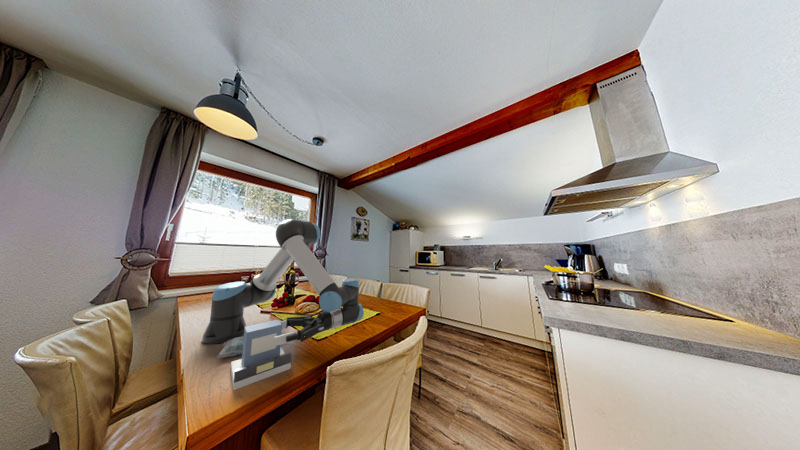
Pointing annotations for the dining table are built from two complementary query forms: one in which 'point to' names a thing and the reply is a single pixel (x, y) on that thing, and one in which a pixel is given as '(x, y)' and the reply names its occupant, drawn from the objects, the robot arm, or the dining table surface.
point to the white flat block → (259, 369)
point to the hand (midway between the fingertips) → (270, 334)
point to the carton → (260, 342)
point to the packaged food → (232, 347)
